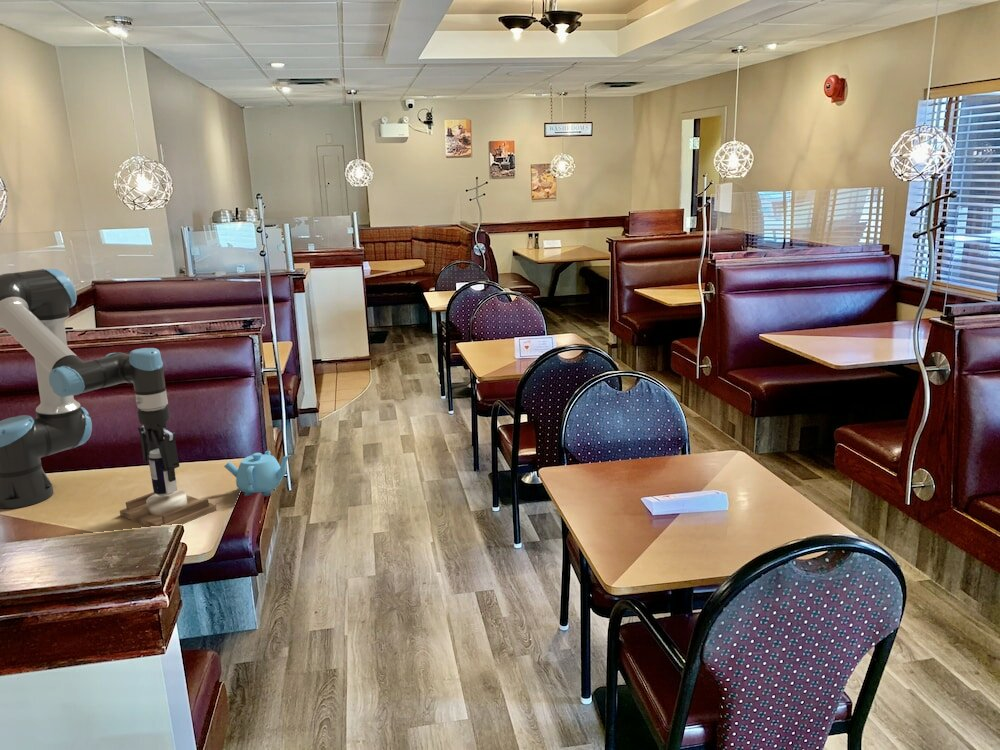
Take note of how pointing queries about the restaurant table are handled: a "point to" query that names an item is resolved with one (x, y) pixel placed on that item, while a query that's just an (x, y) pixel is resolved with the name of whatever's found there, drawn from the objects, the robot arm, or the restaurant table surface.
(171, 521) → the brown wooden tray
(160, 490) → the beverage can
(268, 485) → the teapot
